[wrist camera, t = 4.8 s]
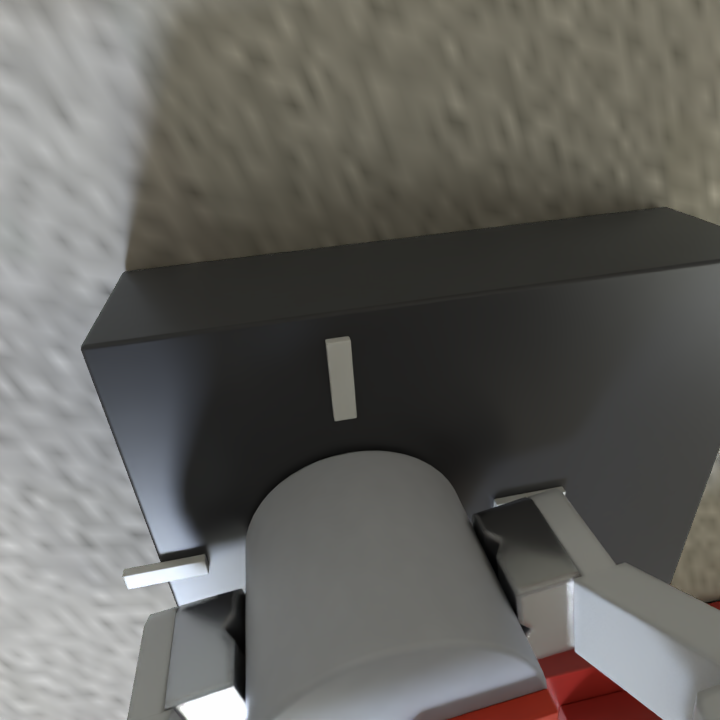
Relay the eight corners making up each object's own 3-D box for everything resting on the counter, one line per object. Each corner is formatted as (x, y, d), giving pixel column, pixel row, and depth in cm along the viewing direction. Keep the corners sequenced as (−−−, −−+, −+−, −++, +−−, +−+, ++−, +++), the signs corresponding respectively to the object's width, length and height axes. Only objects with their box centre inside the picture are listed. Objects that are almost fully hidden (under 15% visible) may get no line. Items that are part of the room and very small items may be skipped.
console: (195, 592, 14) (184, 718, 11) (87, 275, 10) (26, 360, 7) (596, 512, 16) (670, 607, 13) (667, 205, 11) (802, 252, 8)
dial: (278, 627, 11) (293, 874, 7) (214, 486, 9) (196, 743, 5) (467, 571, 11) (560, 787, 8) (448, 422, 9) (564, 630, 6)
